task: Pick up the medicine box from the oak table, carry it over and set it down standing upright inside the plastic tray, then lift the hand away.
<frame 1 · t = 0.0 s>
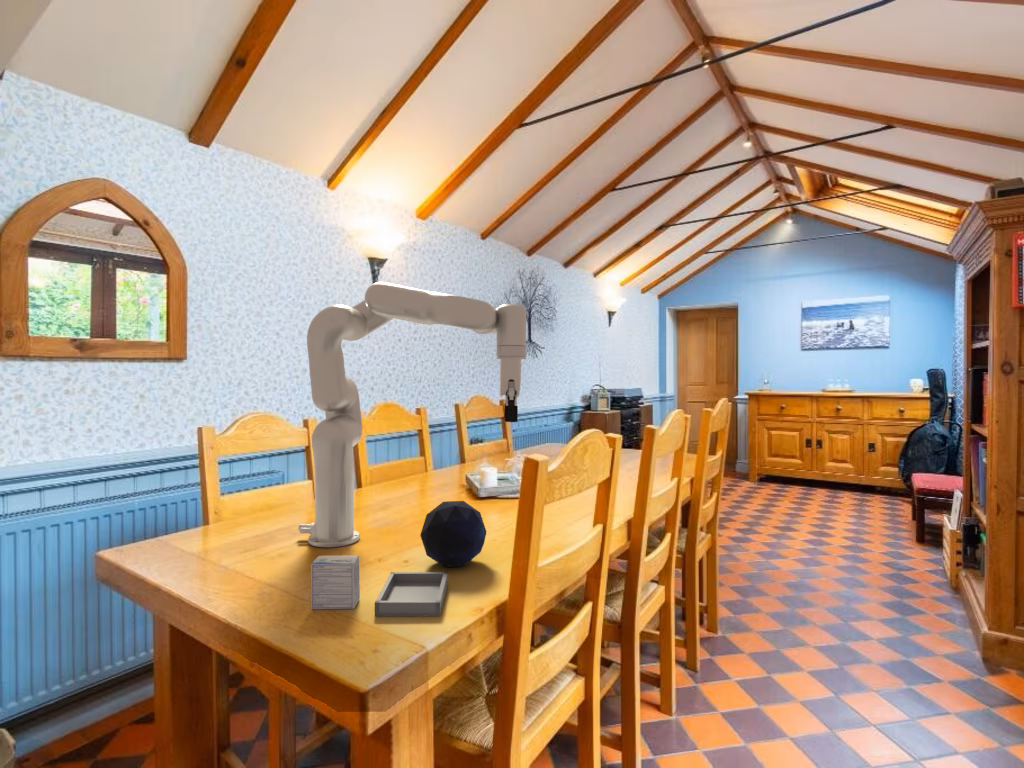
hand: (510, 420, 140), 31 cm above the table, fingers open, 9 cm apart
decorative orb: (453, 564, 124), on the table
tray: (413, 599, 105), on the table
medicine box: (335, 605, 102), on the table
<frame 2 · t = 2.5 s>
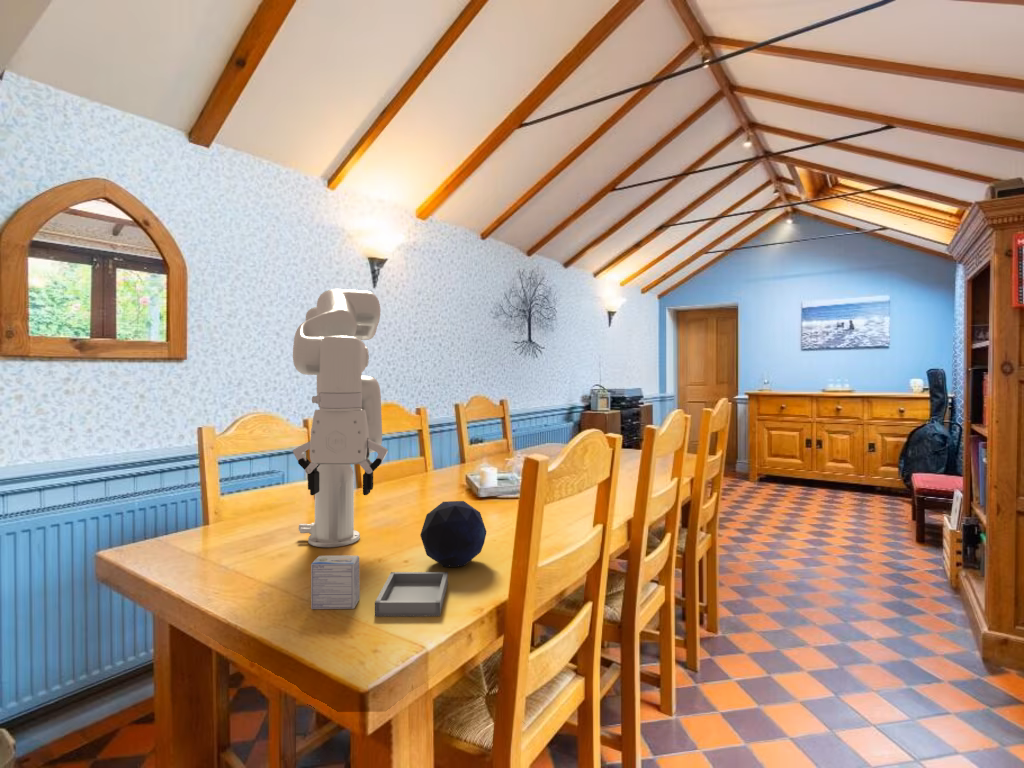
hand: (340, 493, 102), 21 cm above the table, fingers open, 9 cm apart
nothing on the table moved.
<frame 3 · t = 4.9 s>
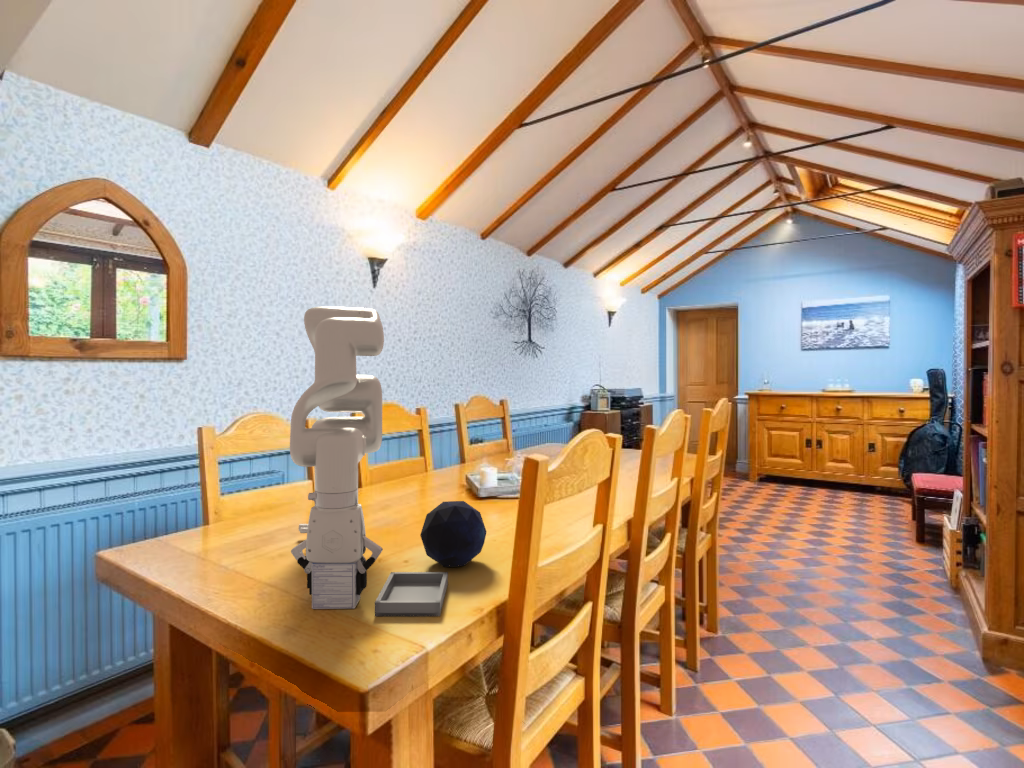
hand: (337, 591, 102), 2 cm above the table, fingers closed on medicine box, 8 cm apart
medicine box: (336, 605, 102), on the table, touching gripper
everything else where it was.
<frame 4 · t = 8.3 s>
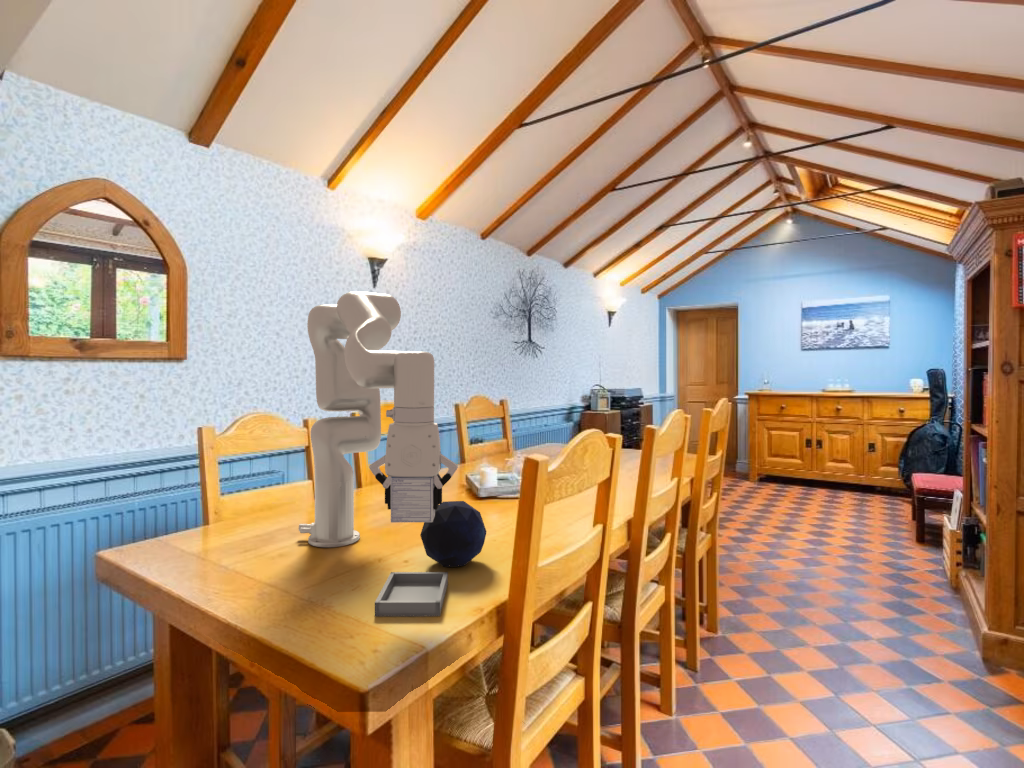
hand: (413, 507, 104), 18 cm above the table, fingers closed on medicine box, 8 cm apart
medicine box: (413, 521, 104), point 15 cm above the table, touching gripper
everything else where it was.
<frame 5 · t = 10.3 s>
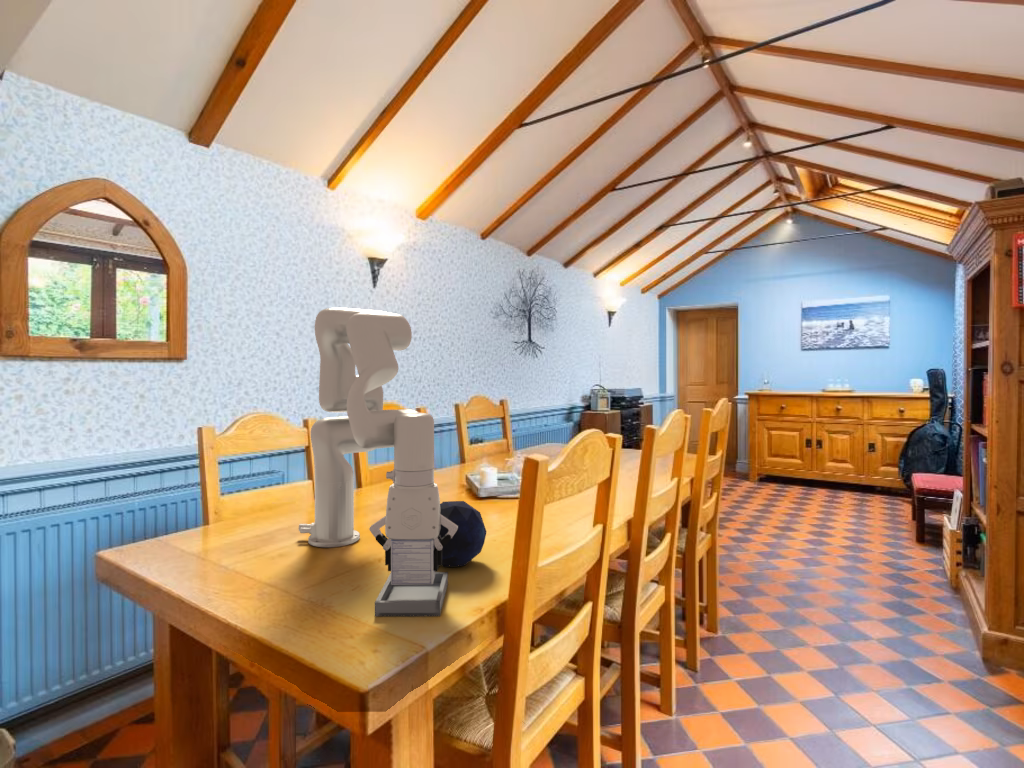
hand: (413, 568, 105), 6 cm above the table, fingers closed on medicine box, 8 cm apart
medicine box: (413, 582, 104), point 3 cm above the table, touching gripper
everything else where it was.
when the fingers open (4 cm above the table, at t = 11.7 s): medicine box drops 1 cm, resting on tray.
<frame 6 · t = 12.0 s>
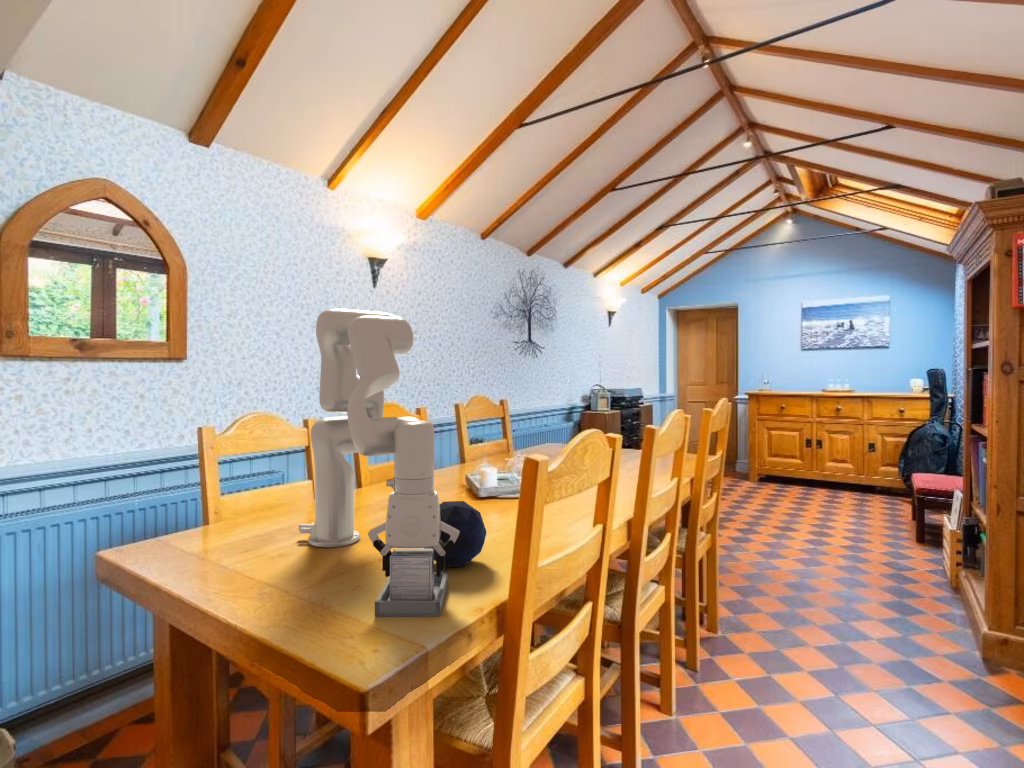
hand: (413, 574, 105), 5 cm above the table, fingers open, 9 cm apart
medicine box: (412, 597, 104), resting on tray
everything else where it was.
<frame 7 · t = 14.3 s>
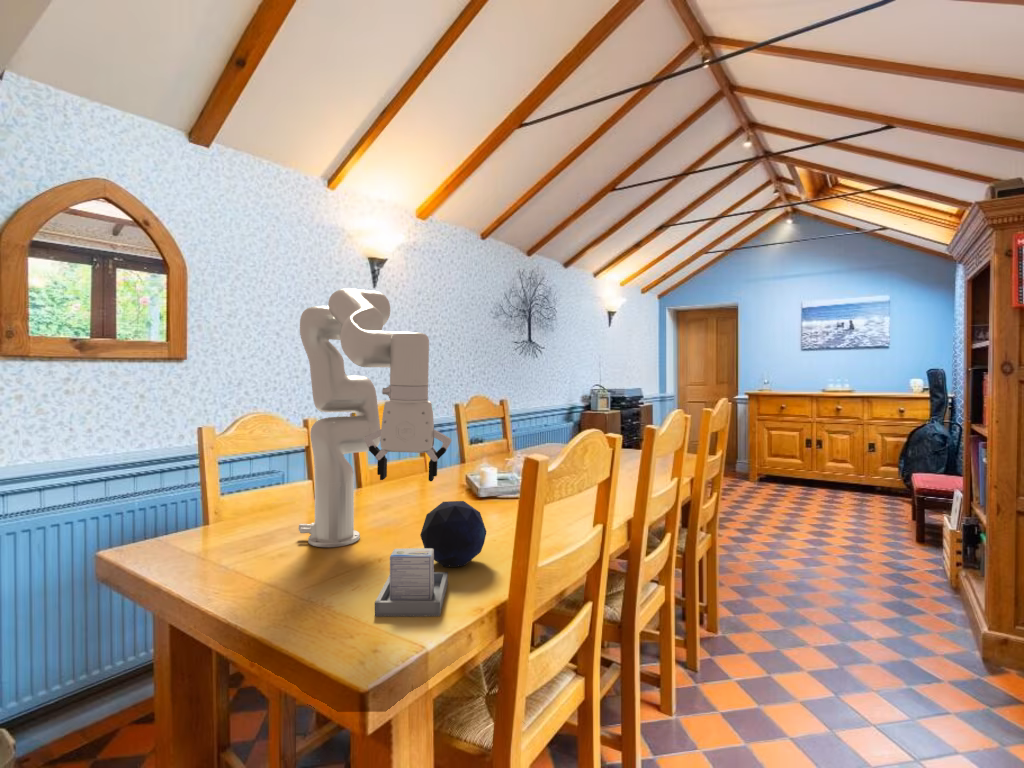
hand: (407, 479, 110), 22 cm above the table, fingers open, 9 cm apart
nothing on the table moved.
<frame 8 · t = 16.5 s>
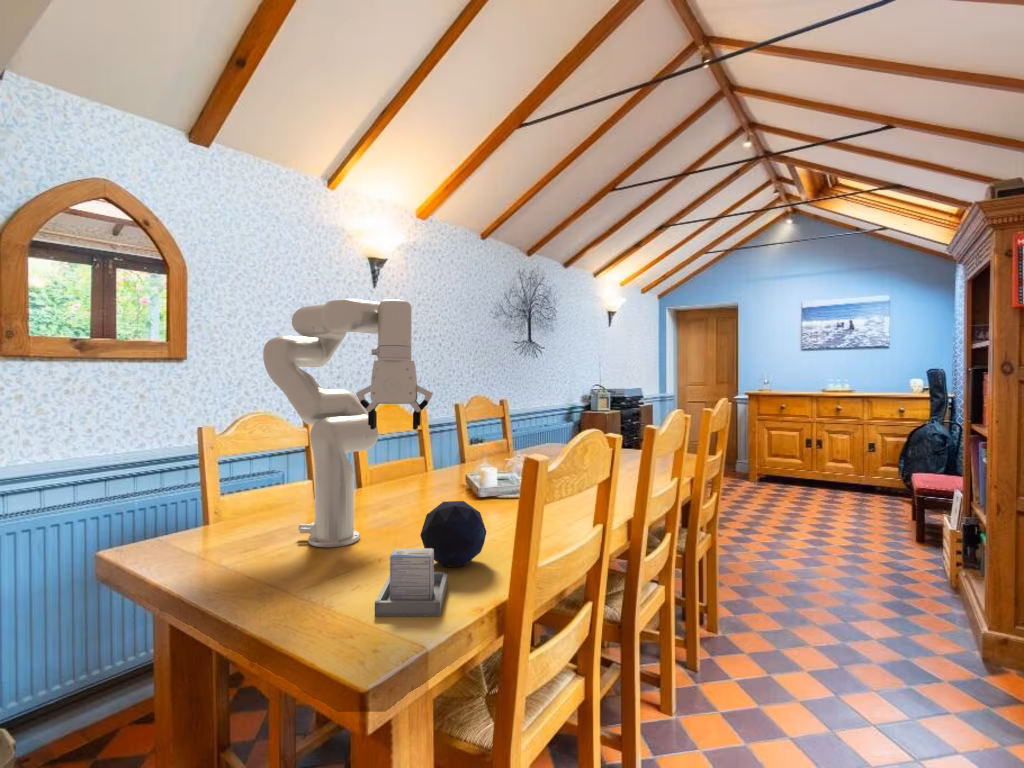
hand: (394, 428, 126), 30 cm above the table, fingers open, 9 cm apart
nothing on the table moved.
at the end: medicine box inside the target area on the tray (0.4 cm from its centre), point 0.4 cm above the tray's base; medicine box tilted 0°; the gripper is holding nothing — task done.
